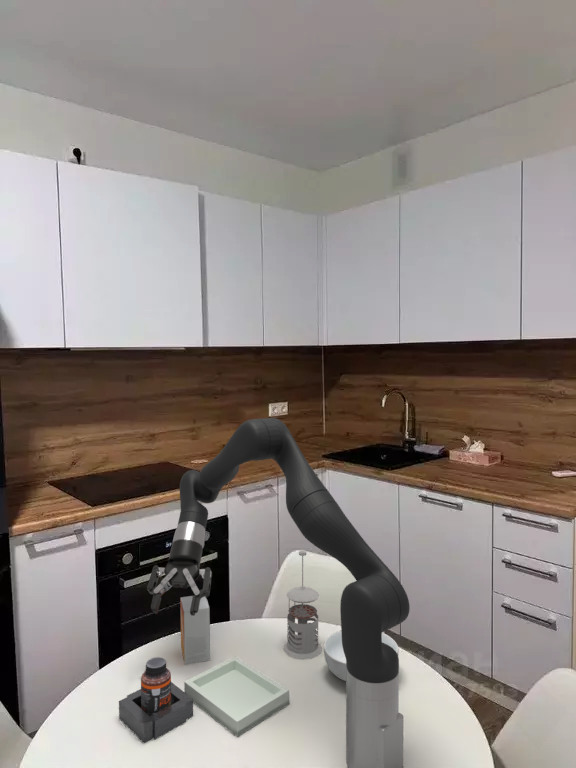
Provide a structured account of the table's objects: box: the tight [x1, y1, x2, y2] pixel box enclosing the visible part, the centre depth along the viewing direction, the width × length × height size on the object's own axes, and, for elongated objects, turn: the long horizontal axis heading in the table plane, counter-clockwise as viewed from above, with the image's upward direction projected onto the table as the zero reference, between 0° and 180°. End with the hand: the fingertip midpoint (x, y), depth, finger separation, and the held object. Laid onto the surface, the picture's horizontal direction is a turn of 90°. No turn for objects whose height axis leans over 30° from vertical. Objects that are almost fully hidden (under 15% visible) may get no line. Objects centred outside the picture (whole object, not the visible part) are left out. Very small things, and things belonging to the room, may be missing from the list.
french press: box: [282, 549, 323, 660], centre depth 133 cm, size 10×12×25 cm
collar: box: [118, 681, 194, 744], centre depth 107 cm, size 11×11×4 cm
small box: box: [179, 595, 211, 665], centre depth 130 cm, size 8×6×13 cm
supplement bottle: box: [140, 656, 172, 716], centre depth 107 cm, size 6×6×11 cm
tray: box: [183, 656, 290, 738], centre depth 112 cm, size 18×14×3 cm
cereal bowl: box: [323, 630, 399, 682], centre depth 121 cm, size 17×17×7 cm
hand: (173, 613), depth 118 cm, fingers open, 8 cm apart
